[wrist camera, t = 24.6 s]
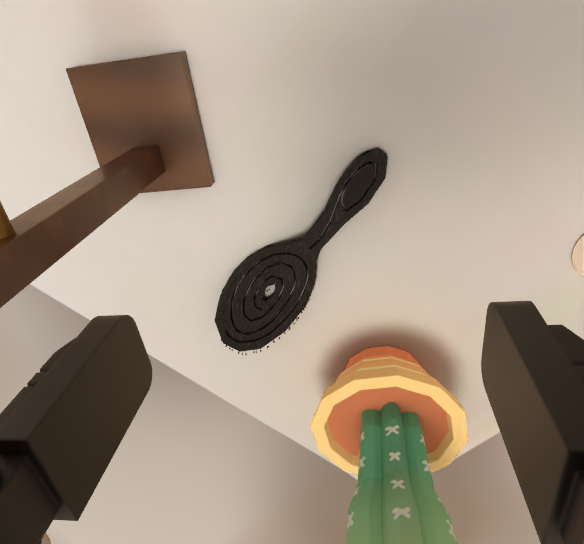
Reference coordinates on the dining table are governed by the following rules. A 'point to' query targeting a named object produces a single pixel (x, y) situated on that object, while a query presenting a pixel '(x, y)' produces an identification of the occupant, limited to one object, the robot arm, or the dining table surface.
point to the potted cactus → (391, 445)
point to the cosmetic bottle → (579, 256)
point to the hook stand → (112, 160)
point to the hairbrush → (291, 265)
